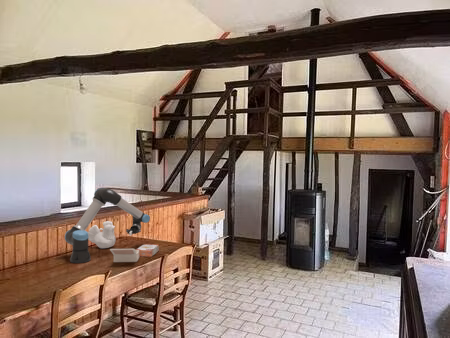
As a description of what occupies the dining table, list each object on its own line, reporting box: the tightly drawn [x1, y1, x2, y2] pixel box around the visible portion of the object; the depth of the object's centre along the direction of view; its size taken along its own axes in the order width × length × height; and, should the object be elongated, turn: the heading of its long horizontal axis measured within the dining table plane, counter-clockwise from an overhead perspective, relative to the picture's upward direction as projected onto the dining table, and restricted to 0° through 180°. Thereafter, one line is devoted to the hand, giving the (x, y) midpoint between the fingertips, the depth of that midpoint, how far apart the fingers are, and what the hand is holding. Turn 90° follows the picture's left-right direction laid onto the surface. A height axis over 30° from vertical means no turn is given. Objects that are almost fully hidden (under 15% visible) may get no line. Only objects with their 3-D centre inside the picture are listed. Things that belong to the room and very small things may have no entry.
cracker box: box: [135, 243, 160, 258], centre depth 301 cm, size 14×6×21 cm
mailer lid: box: [109, 248, 137, 256], centre depth 269 cm, size 14×18×1 cm
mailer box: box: [113, 249, 140, 263], centre depth 282 cm, size 14×18×6 cm
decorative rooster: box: [87, 220, 117, 249], centre depth 323 cm, size 25×16×25 cm, turn 81°
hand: (130, 233), depth 294 cm, fingers closed
